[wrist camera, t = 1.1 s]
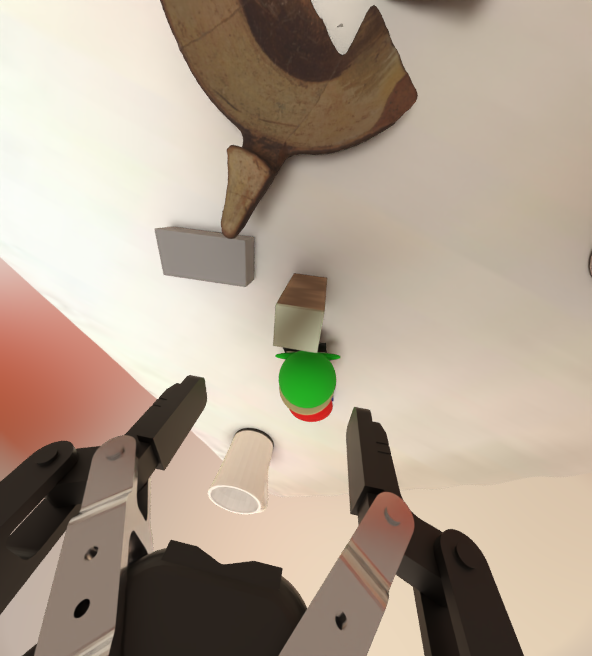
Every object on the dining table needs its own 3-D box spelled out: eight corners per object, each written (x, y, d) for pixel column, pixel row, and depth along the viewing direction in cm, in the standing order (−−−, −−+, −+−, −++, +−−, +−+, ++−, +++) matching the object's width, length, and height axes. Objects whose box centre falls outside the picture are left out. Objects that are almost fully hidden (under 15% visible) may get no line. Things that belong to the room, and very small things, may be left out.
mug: (224, 436, 45) (197, 493, 36) (252, 420, 41) (229, 479, 32) (262, 464, 48) (246, 523, 39) (292, 451, 44) (281, 514, 35)
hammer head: (254, 237, 25) (245, 240, 23) (253, 279, 28) (245, 287, 25) (172, 226, 26) (154, 228, 23) (179, 268, 28) (163, 274, 26)
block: (327, 277, 26) (324, 312, 18) (321, 308, 28) (317, 352, 19) (294, 273, 26) (275, 305, 18) (291, 303, 28) (273, 345, 20)
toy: (338, 378, 38) (341, 337, 25) (339, 428, 34) (343, 409, 21) (290, 377, 39) (269, 337, 26) (285, 425, 35) (258, 404, 22)
